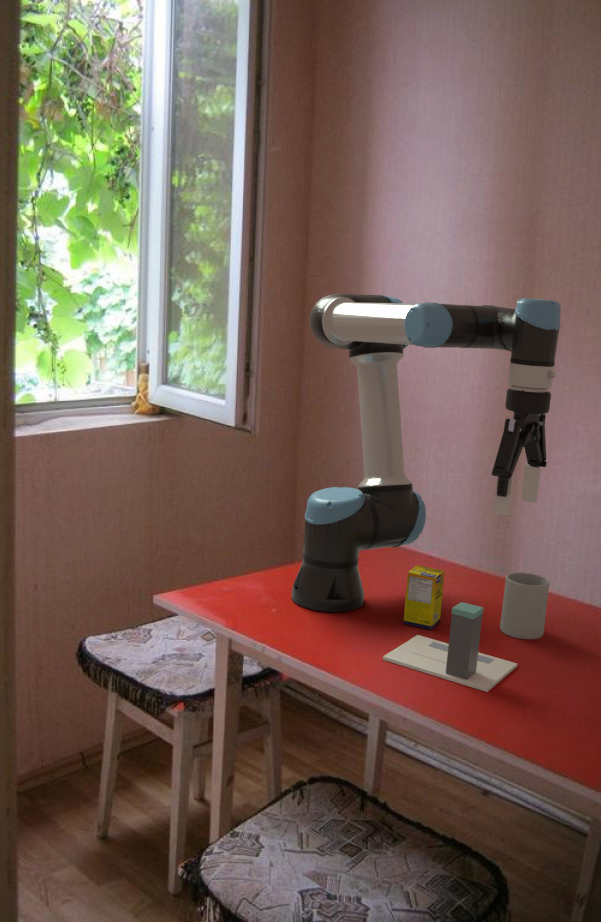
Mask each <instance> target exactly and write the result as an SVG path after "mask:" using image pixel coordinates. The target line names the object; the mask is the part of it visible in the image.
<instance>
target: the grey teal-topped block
mask: <svg viewBox="0 0 601 922" xmlns="http://www.w3.org/2000/svg"><path fill="white" fill-rule="evenodd" d="M483 614H484V607H482V606H479V605H476V604H475V605H474V604H472V603H471V604H470V603H467V602H463V601H460V602H459V603H458V604H456V605H455V606H453V607H452V608H451V616H450V617H451V620H450V627H449V628H450V629H449V639H448V644H449V646H448V655H447V665H446V674H449V675H452V676H456V677H459V678H462V679H466V680H468V679H469V678H470V677H471V676H472V675H474V674H475V673H476V668H477V659H478V652H479V648H480V647H479V646H480V640H481V631H482V624H483V623H482V621H483Z"/></svg>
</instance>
